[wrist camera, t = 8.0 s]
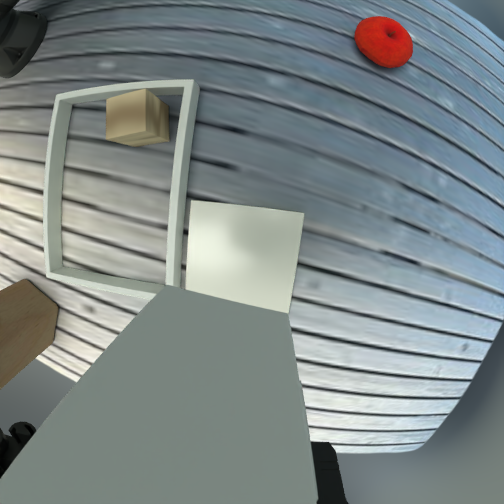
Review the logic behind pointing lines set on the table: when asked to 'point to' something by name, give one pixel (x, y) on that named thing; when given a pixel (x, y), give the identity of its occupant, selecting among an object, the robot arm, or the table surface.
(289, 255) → the tile
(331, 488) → the robot arm
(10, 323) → the wooden block
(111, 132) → the oak block
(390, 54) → the apple
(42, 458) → the milk carton
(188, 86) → the rectangular frame
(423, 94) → the table surface
